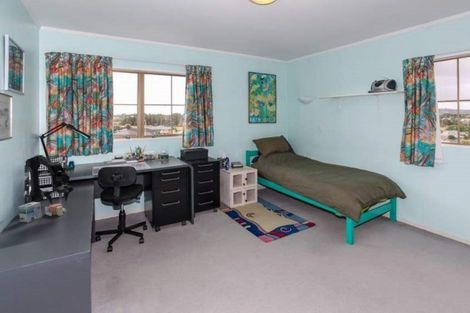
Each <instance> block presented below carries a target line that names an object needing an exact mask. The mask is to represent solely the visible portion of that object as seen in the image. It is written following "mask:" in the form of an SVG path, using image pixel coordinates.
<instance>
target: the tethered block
mask: <svg viewBox="0 0 470 313" xmlns="http://www.w3.org/2000/svg"><path fill="white" fill-rule="evenodd" d="M48 206H49V210H50V212H51V213H52V216H55V215H57V216H59V217H60V216H64V212H63V206H62V203H54V204H52V205H51V204H49V205H48Z"/></svg>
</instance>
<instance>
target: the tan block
mask: <svg viewBox="0 0 470 313" xmlns="http://www.w3.org/2000/svg"><path fill="white" fill-rule="evenodd" d="M49 206H50V205H48V206H45V207H44V214H45V215H47V216H49V217H51V216H53V215H52V213H51V212H50V210H49ZM66 212H67V209H66V208H63V213H66Z"/></svg>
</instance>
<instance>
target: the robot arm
mask: <svg viewBox="0 0 470 313" xmlns="http://www.w3.org/2000/svg"><path fill="white" fill-rule="evenodd" d="M25 165H26V168H27V169H28V170H29V174H30V175H29V176H30V186H31V189H30V191H29V193H28V194H29V196H28V198H27V199H26V202H27V204H28V203H31V202H40V205H41V204H42V203H41V201H44V197H45V198H46V199H47V201H48V202H49V204H50V205H53V200H52V194H59V195H60V194H63V196H64V201H65V202H67V200H68V197H69V194H70V193H72V191H74V187H73V186H71V185H68V184H67V183H68V182H69V181H70V180H71V178H70V176H69V175H68V174H67V172H66V170H65V169H64V167H63V166H62V164H61V163H59V162H55V161H52V160H50V159H48V158H47V157H45V155H43V154H37V155H34V156H33V157H30V158H27V159H26V160H25ZM41 165H43V166H44V167H46V168H47V171H48V172H49V176H50V177H51V179H50V180H51V184H50V185H51V190H48V189H47V190H42V189H41V187H40V176H39V169H40V167H41ZM63 183H64V184H65V185H64V184H63ZM42 208H43V206H41V211H42Z"/></svg>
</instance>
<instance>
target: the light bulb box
mask: <svg viewBox="0 0 470 313" xmlns="http://www.w3.org/2000/svg"><path fill="white" fill-rule="evenodd" d="M40 204H41V201H40V202H31V203H28V202H27V203H25V204H22V205H19V206H18V214H19V221H20V222H21V223H22V222H23V223H30V222H32V221H34V220H35V221H36V220H38V219H40V218H43V216H42V210H41V207H42V206H41V205H40Z"/></svg>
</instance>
